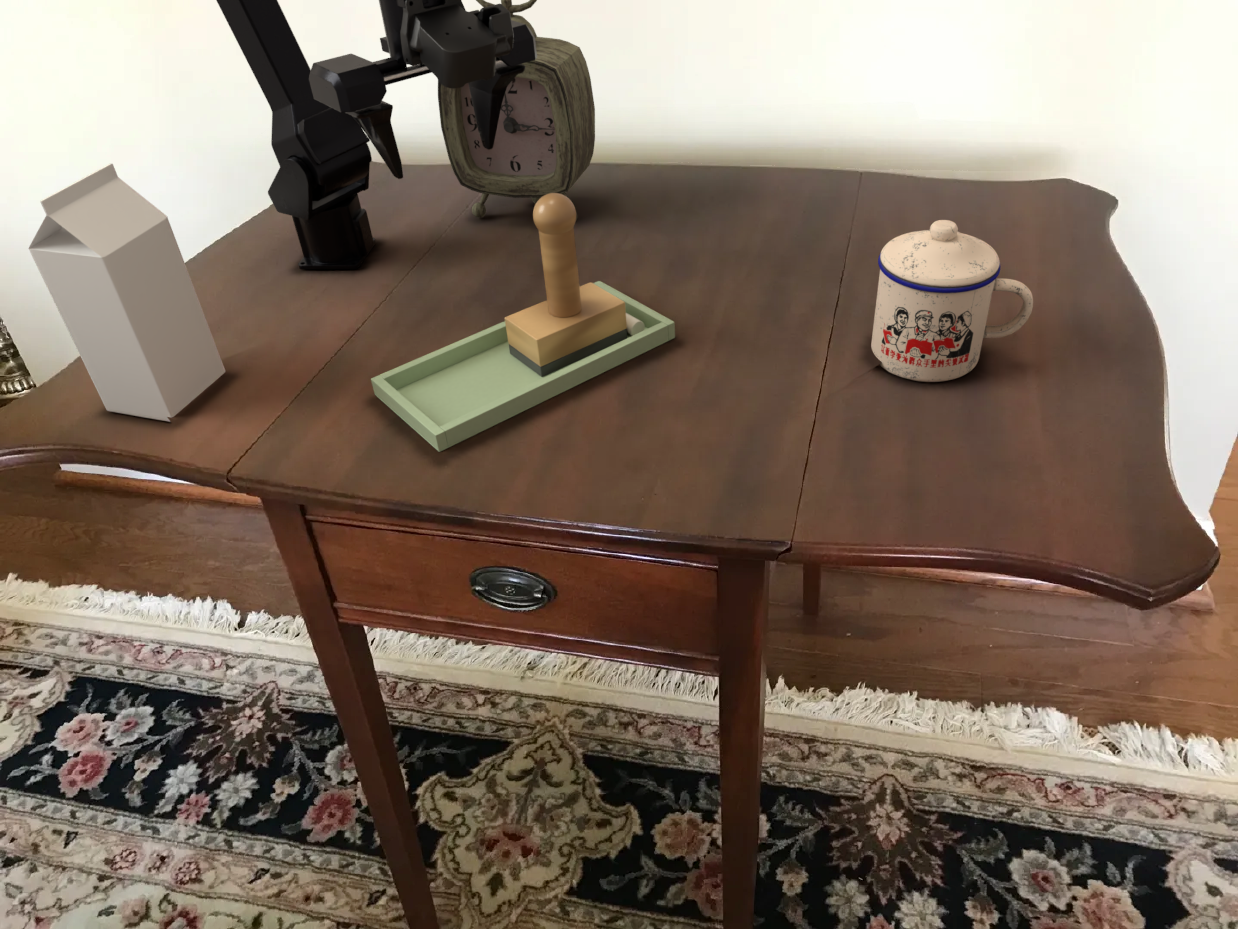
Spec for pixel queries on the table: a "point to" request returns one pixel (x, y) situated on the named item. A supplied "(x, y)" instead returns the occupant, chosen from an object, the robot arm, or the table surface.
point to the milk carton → (125, 296)
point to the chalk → (634, 325)
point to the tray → (497, 378)
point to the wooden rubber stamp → (563, 301)
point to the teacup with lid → (938, 303)
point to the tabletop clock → (526, 126)
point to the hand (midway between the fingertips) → (444, 162)
